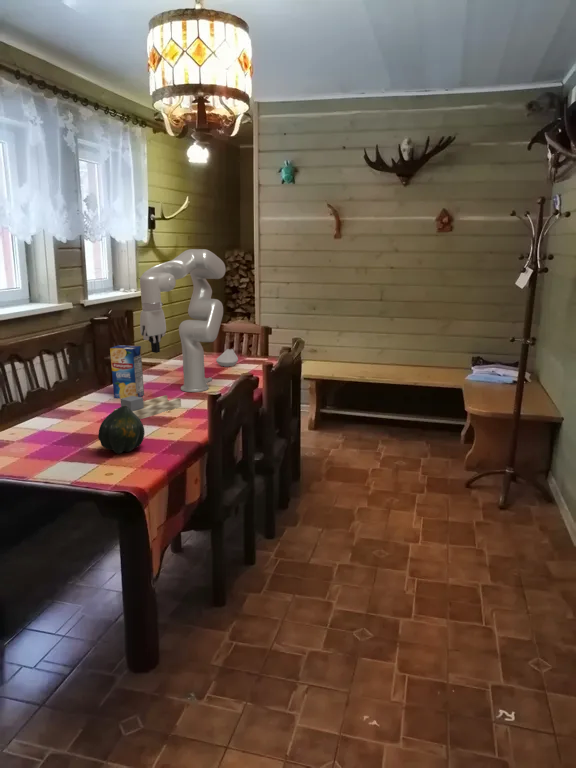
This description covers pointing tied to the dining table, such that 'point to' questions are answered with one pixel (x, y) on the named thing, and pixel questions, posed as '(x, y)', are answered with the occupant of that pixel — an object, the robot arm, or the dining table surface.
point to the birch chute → (157, 406)
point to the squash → (121, 431)
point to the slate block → (133, 403)
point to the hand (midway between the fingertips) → (155, 352)
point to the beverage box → (127, 371)
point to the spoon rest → (227, 358)
